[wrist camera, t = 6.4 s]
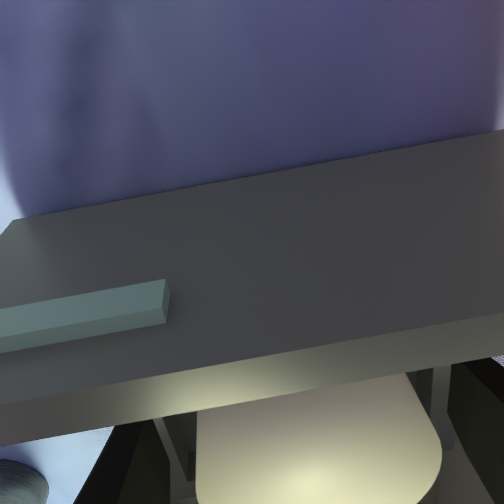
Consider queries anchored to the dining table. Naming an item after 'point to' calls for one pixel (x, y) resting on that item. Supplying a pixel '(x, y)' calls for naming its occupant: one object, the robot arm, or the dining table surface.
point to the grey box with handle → (254, 294)
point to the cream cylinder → (319, 447)
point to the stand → (21, 484)
